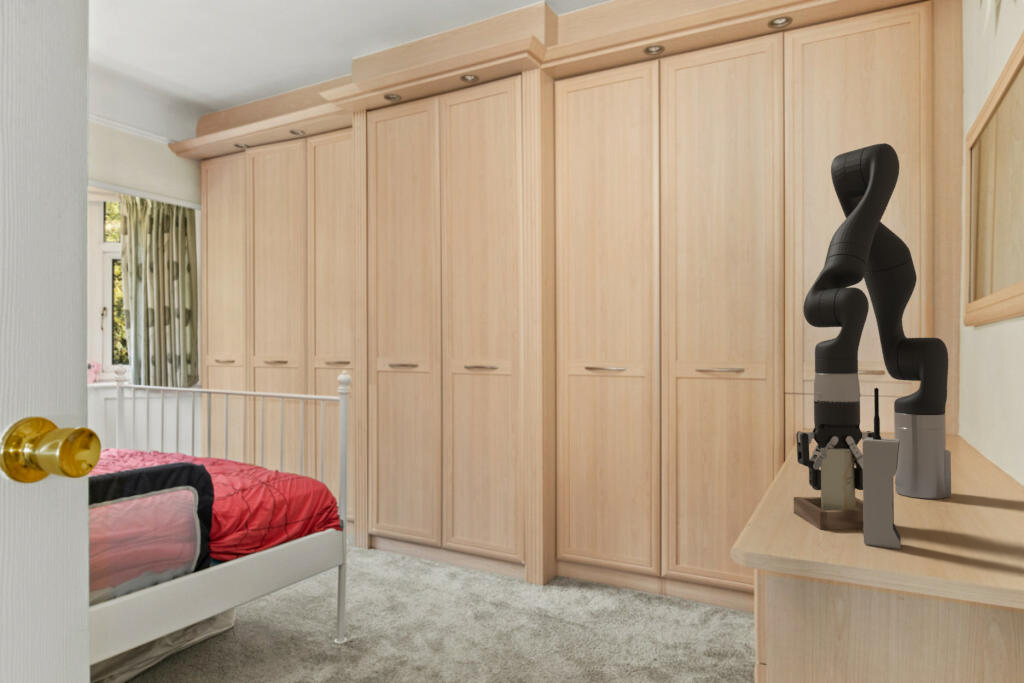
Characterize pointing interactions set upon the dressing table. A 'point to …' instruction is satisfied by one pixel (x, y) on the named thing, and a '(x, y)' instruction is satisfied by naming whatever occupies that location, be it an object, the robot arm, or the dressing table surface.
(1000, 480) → the dressing table surface
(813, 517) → the walnut holder
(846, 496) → the skincare box
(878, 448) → the vintage mobile phone
